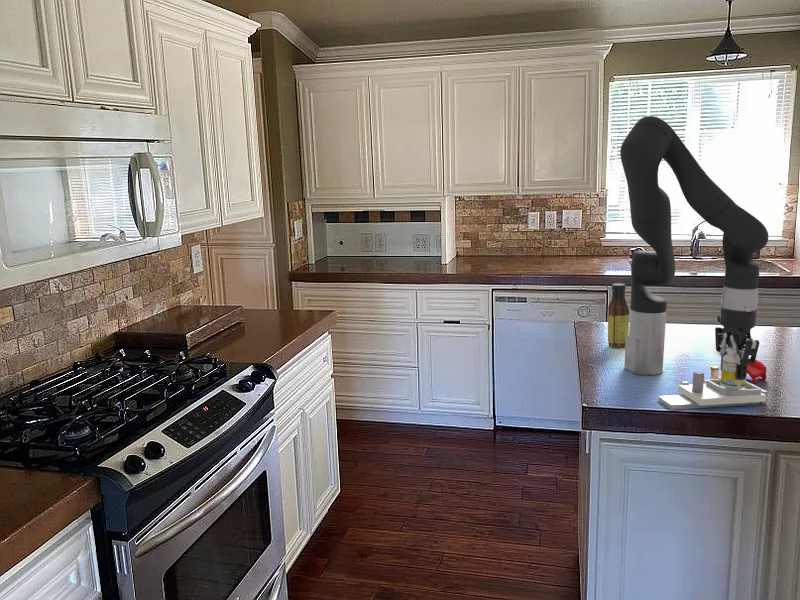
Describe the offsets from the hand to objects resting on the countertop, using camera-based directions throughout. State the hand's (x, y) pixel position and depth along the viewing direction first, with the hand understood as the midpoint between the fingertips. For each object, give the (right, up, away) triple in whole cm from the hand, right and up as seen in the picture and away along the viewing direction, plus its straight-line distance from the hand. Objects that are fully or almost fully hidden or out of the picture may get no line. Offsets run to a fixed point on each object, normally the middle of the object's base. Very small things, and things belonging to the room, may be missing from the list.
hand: (732, 375), depth 157 cm
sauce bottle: (-11, +3, +49) cm, 51 cm away
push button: (+22, +4, +49) cm, 54 cm away
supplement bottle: (0, -3, +1) cm, 3 cm away
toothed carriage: (-3, -5, +1) cm, 6 cm away
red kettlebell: (+13, -4, +16) cm, 21 cm away
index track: (-5, -6, +4) cm, 9 cm away
